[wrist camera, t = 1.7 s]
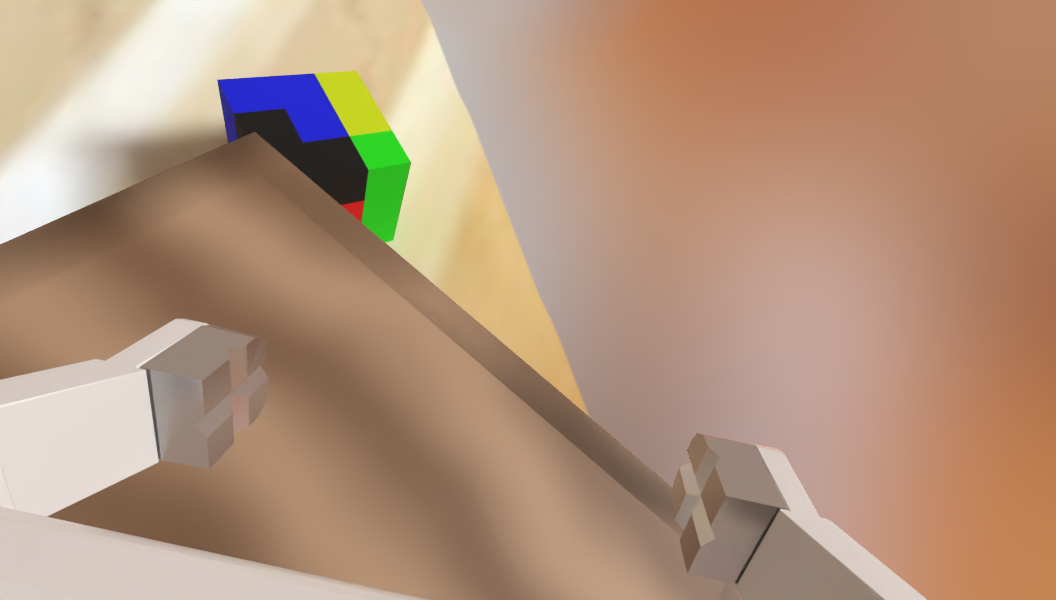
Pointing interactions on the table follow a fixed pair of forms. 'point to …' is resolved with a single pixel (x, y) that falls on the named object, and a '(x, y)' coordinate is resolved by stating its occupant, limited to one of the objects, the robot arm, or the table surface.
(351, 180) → the puzzle toy
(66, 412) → the robot arm
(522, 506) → the brown wooden box
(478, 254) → the table surface
